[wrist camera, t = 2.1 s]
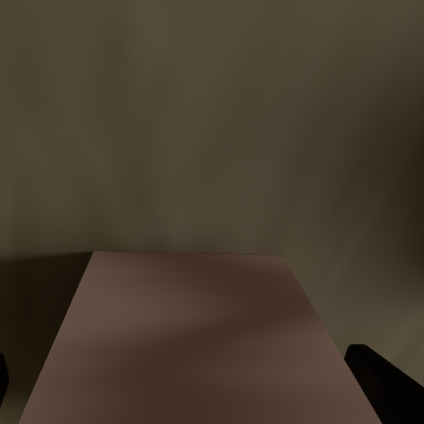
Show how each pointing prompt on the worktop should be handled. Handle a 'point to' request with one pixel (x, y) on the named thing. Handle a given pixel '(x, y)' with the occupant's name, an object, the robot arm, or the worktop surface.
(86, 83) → the worktop surface
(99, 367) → the rose cube
